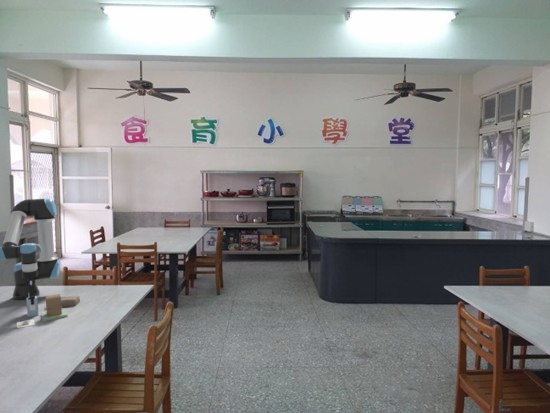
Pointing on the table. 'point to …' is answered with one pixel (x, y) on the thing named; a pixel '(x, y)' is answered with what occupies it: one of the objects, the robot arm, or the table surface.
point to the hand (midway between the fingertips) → (32, 306)
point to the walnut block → (53, 305)
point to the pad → (46, 318)
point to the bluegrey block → (32, 312)
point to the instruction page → (25, 323)
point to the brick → (70, 301)
